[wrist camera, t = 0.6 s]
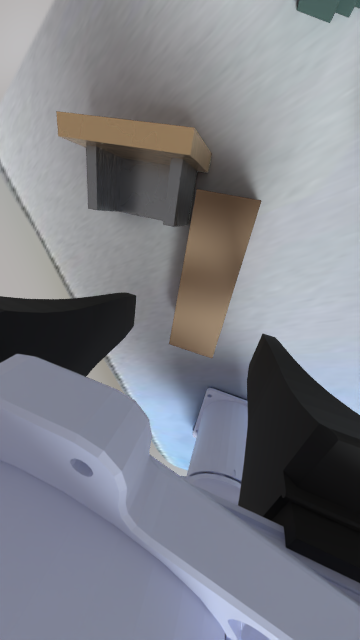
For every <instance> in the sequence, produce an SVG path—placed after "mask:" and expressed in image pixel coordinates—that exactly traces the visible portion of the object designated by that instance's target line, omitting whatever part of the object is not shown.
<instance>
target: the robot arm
mask: <svg viewBox="0 0 360 640" xmlns="http://www.w3.org/2000/svg"><path fill="white" fill-rule="evenodd" d="M135 305H136V295H133V294H130V293H114V294H106V295H99V296H92V297H83V298H74V299H55V300H54V299H52V300H51V299H50V300H49V299H22V298H11V297H1V296H0V640H360V415H359V414H357V413H356V412H354V411H353V410H351V409H350V408H349V407H347V406H346V405H345V404H343V403H342V402H341V401H339V400H338V399H337V398H335V397H334V396H333V395H331V394H330V393H329V392H328V391H326V390H325V389H324V388H323V387H322V386H321V385H320V384H318V383H317V382H316V381H315V380H314V379H313V378H312V377H311V376H310V375H309V374H308V373H307V372H306V371H305V370H304V369H303V368H302V367H301V366H300V365H299V364H298V363H297V362H296V361H295V360H294V359H293V357H292V356H291V355H290V354H289V353H288V352H287V350H286V349H285V348H284V347H283V346H282V344H281V343H280V342H279V341H278V340H277V339H276V338H275V337H272V336H269V335H265V334H262V336H261V339H260V341H259V343H258V346H257V348H256V350H255V352H254V355H253V357H252V359H251V362H250V364H249V370H248V378H247V401H246V400H244V399H241V398H238V397H235V396H233V395H230V394H227V393H224V392H221V391H219V390H216V389H213V388H208V389H207V391H206V394H205V397H204V400H203V403H202V406H201V410H200V413H199V416H198V419H197V422H196V425H195V428H194V431H193V436H194V437H195V438H196V442H195V445H194V449H193V453H192V457H191V461H190V465H189V469H188V473H187V476H179V475H178V474H176V473H175V472H174V471H172V470H171V469H169V468H168V467H167V466H165V465H164V464H162V463H161V462H160V461H158V460H157V459H155V458H154V457H152V456H151V455H150V454H149V449H150V443H151V438H152V433H151V428H150V423H149V419H148V417H147V415H146V414H145V413H144V411H143V410H142V409H141V407H140V406H139V405H138V404H137V402H136V401H135V400H133V399H132V398H130V397H129V396H127V395H125V394H124V393H122V392H121V391H119V390H117V389H115V388H112V387H110V386H108V385H105V384H102V383H100V382H97V381H95V380H93V379H90V378H88V377H86V376H87V375H88V374H89V372H90V371H91V370H92V369H93V368H94V367H95V366H96V365H97V363H99V362H100V361H101V360H102V359H103V358H104V357H105V356H106V355H107V354H108V353H109V352H110V351H111V350H112V349H113V348H114V347H116V346H117V345H118V344H119V343H120V342H121V341H122V340H123V339H124V338H125V337H126V335H127V334H128V333H129V332H130V330H131V329H132V327H133V326H134V316H135ZM208 394H210V395H208Z"/></svg>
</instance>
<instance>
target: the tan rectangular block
mask: <svg viewBox="0 0 360 640" xmlns="http://www.w3.org/2000/svg"><path fill="white" fill-rule="evenodd" d="M260 204H261V200H255V199H249V198H244V197H238V196H233V195H227V194H222V193H216V192H211V191H205V190H200V189H197V191H196V196H195V202H194V207H193V213H192V219H191V224H190V230H189V235H188V241H187V246H186V252H185V258H184V263H183V269H182V274H181V280H180V286H179V291H178V297H177V302H176V308H175V313H174V319H173V325H172V330H171V336H170V341H169V344H170V345H173V346H176V347H179V348H182V349H185V350H188V351H191V352H194V353H197V354H200V355H203V356H206V357H209V358H213V354H214V351H215V348H216V345H217V341H218V338H219V335H220V332H221V329H222V325H223V322H224V319H225V316H226V313H227V309H228V306H229V303H230V300H231V297H232V293H233V290H234V287H235V284H236V281H237V277H238V274H239V271H240V268H241V265H242V261H243V258H244V255H245V252H246V249H247V245H248V242H249V239H250V236H251V233H252V229H253V226H254V223H255V220H256V216H257V213H258V210H259V207H260Z"/></svg>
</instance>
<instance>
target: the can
mask: <svg viewBox="0 0 360 640" xmlns="http://www.w3.org/2000/svg"><path fill="white" fill-rule="evenodd" d="M354 7H358V8H360V0H299V3H298V8H297V11H300V12H303V13H305V14H308V15H310V16H313V17H316V18H318V19H321V20H323V21H326V22H328V23H330V22H331V20H332V18H333V16H334V14H335V12H336V13H338V14H341V15H344V16H346V17H349V16H350V14H351V12H352V10H353V8H354Z"/></svg>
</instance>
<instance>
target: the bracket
mask: <svg viewBox="0 0 360 640" xmlns="http://www.w3.org/2000/svg"><path fill="white" fill-rule="evenodd" d="M56 113H57V125H58V136H59V137H62V138H64V139H67V140H69V141H71V142H74V143H76V144H79V145H81V146H83V147H86V156H87V184H88V208H89V209H94V210H102V211H120V212H125V213H129V214H134V215H139V216H144V217H148V218H153V219H158V220H162V221H164V222H163V225H168V226H172V227H175V226H185V225H188V223H189V217H190V211H191V205H192V199H193V193H194V188H195V182H196V176H197V171H199V172H206V173H208V171H209V166H210V161H211V156H212V154H211V152H210V151H209V149H208V148H207V146H206V145H205V143H204V141H203V140H202V138H201V137H200V135H199V134H198V132H197V131H196V129H195V128H193V127H185V126H176V125H168V124H159V123H151V122H142V121H134V120H125V119H117V118H108V117H100V116H91V115H83V114H74V113H66V112H57V111H56Z"/></svg>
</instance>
